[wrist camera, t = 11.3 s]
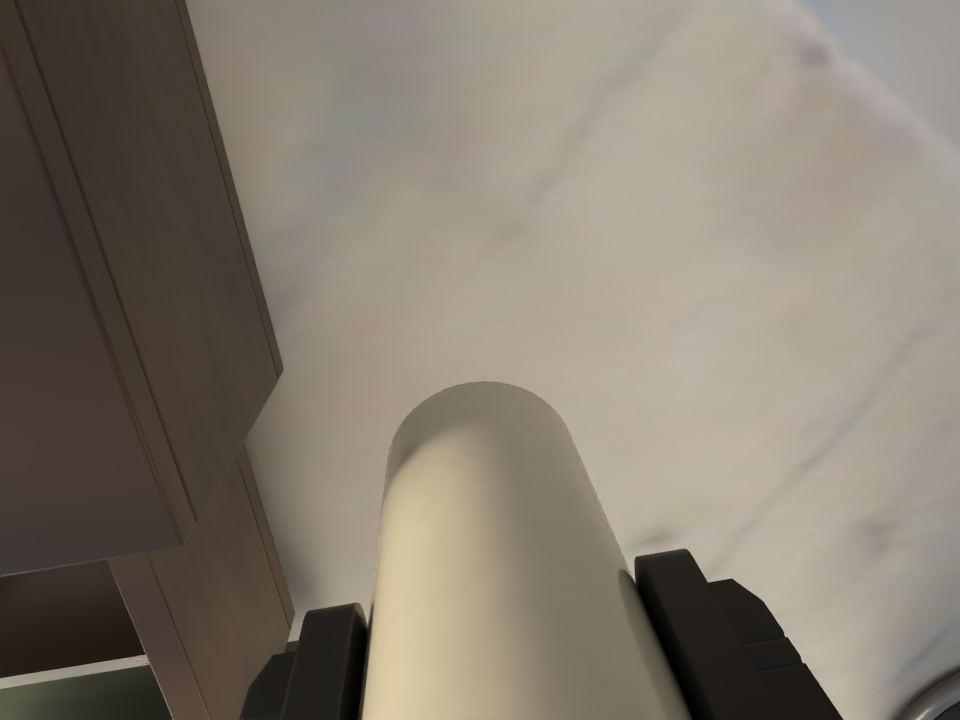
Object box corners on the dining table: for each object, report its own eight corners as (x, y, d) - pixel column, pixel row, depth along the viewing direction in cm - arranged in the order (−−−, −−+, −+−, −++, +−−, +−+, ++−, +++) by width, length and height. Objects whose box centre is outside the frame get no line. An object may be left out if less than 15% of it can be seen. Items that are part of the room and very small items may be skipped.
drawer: (362, 754, 24) (337, 985, 18) (-11, 816, 24) (-171, 1071, 18) (224, 271, 18) (108, 362, 11) (-285, 351, 18) (-690, 488, 11)
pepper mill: (520, 345, 13) (928, 1398, 2) (605, 493, 15) (1111, 1593, 4) (350, 439, 14) (56, 1677, 3) (448, 574, 15) (497, 1767, 4)
